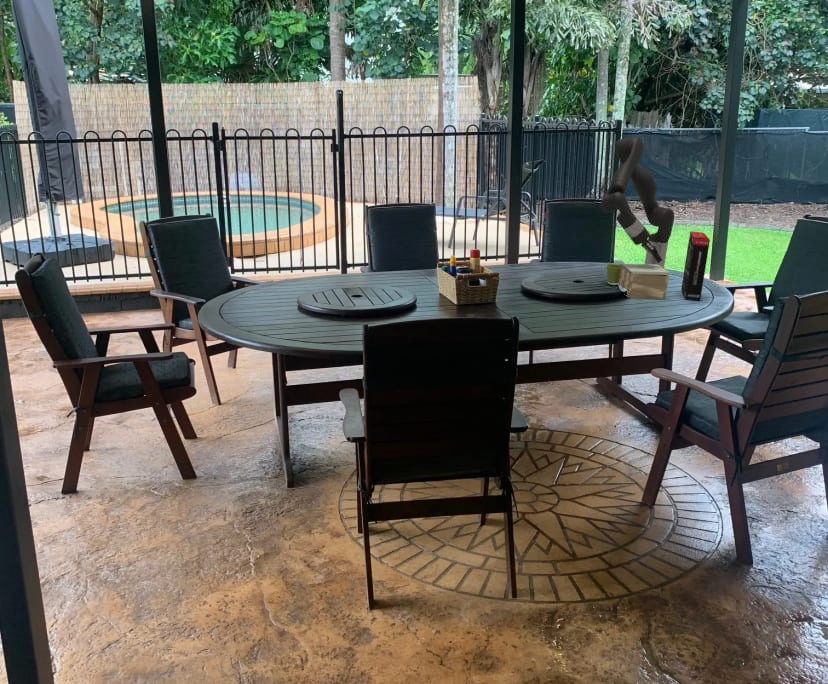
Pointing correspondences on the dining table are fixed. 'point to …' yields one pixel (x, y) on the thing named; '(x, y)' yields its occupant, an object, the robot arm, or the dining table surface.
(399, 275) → the dining table surface
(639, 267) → the box lid
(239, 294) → the dining table surface
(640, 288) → the plywood box
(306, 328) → the dining table surface
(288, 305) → the dining table surface
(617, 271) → the plant pot
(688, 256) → the graphics card box
